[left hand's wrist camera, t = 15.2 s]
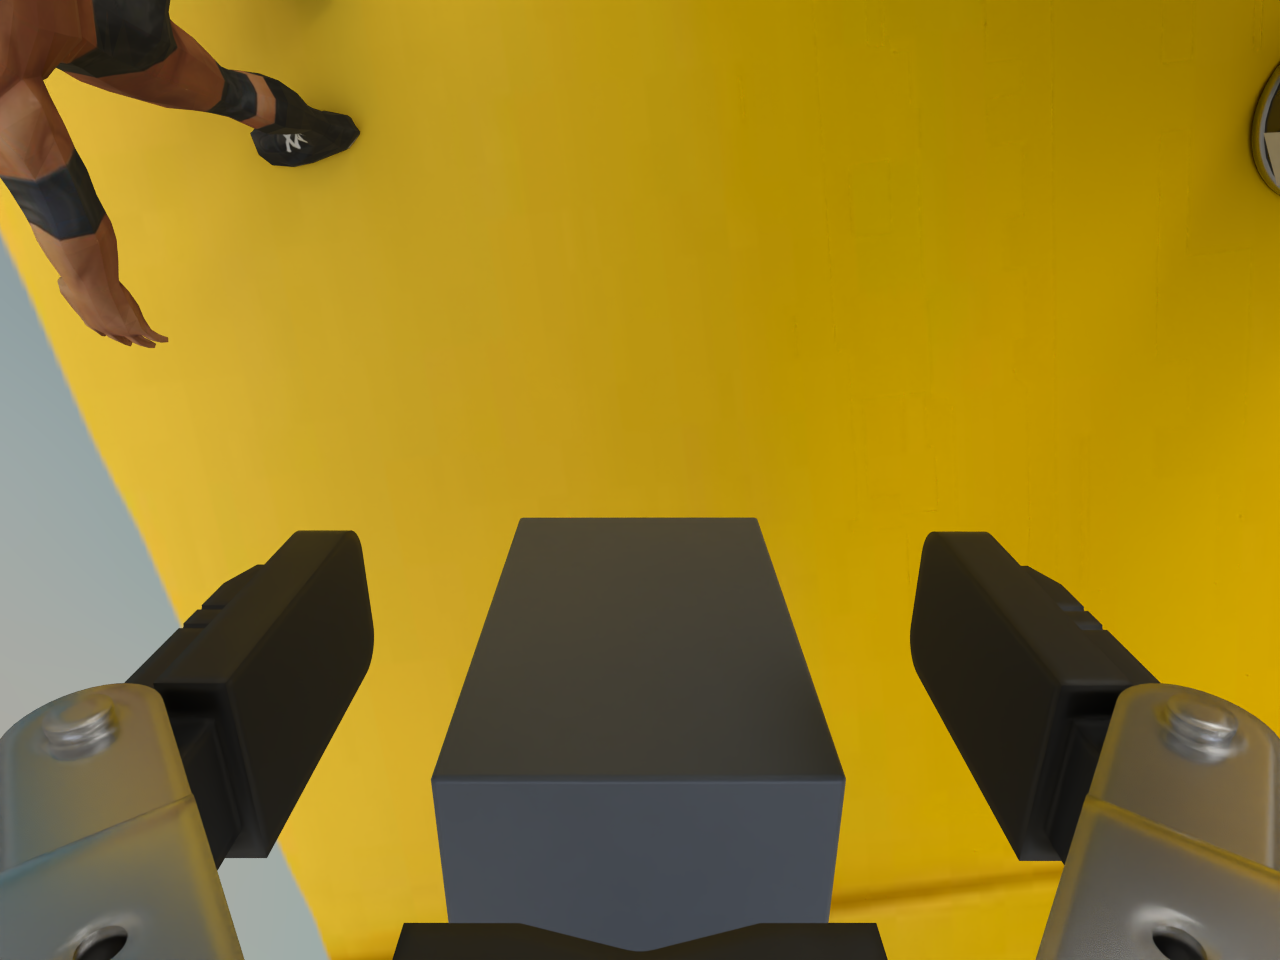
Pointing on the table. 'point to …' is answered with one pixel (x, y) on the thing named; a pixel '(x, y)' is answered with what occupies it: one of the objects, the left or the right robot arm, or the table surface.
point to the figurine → (141, 69)
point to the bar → (638, 741)
